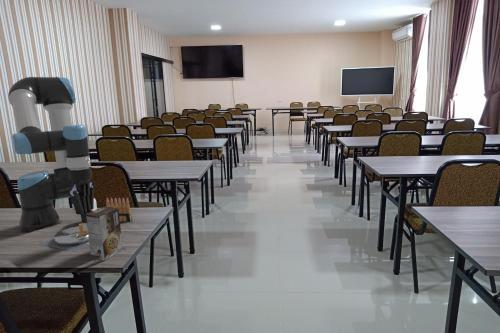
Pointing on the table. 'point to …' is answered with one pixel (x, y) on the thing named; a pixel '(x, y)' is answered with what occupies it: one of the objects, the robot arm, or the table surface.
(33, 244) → the table surface
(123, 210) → the ammunition clip
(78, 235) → the dial
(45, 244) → the panel
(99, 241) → the coffee box
